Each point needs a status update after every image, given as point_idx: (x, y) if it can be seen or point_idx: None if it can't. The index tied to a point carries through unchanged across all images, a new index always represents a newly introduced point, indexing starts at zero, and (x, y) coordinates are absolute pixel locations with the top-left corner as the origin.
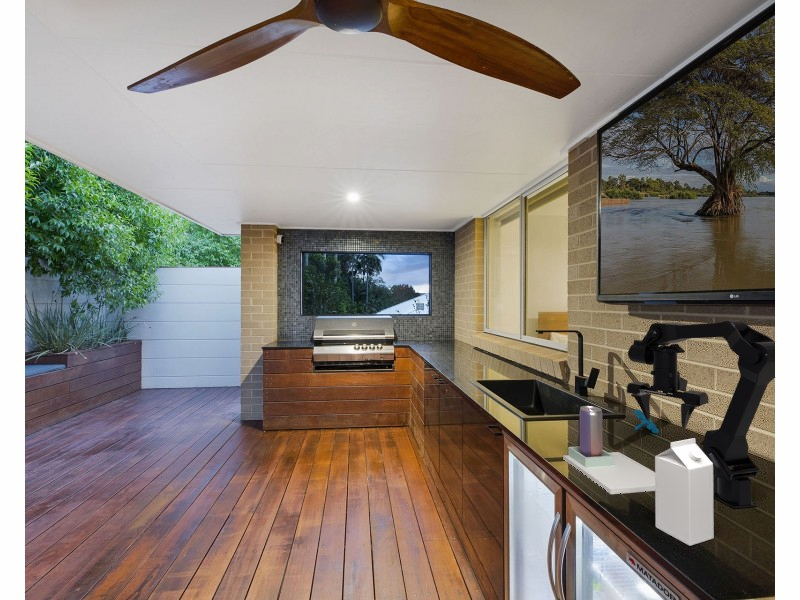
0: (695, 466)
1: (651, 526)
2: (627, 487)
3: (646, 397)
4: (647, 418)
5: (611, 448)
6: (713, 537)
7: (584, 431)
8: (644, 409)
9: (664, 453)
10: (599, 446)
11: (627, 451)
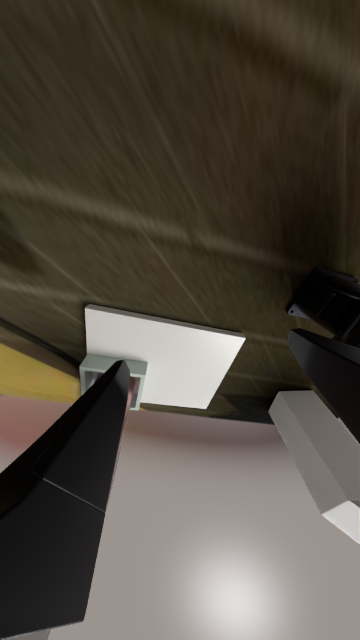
0: None
1: (264, 411)
2: (212, 394)
3: (33, 572)
4: (128, 378)
5: (33, 278)
6: (313, 391)
7: None
8: (116, 443)
9: (340, 524)
10: (129, 405)
11: (59, 256)
